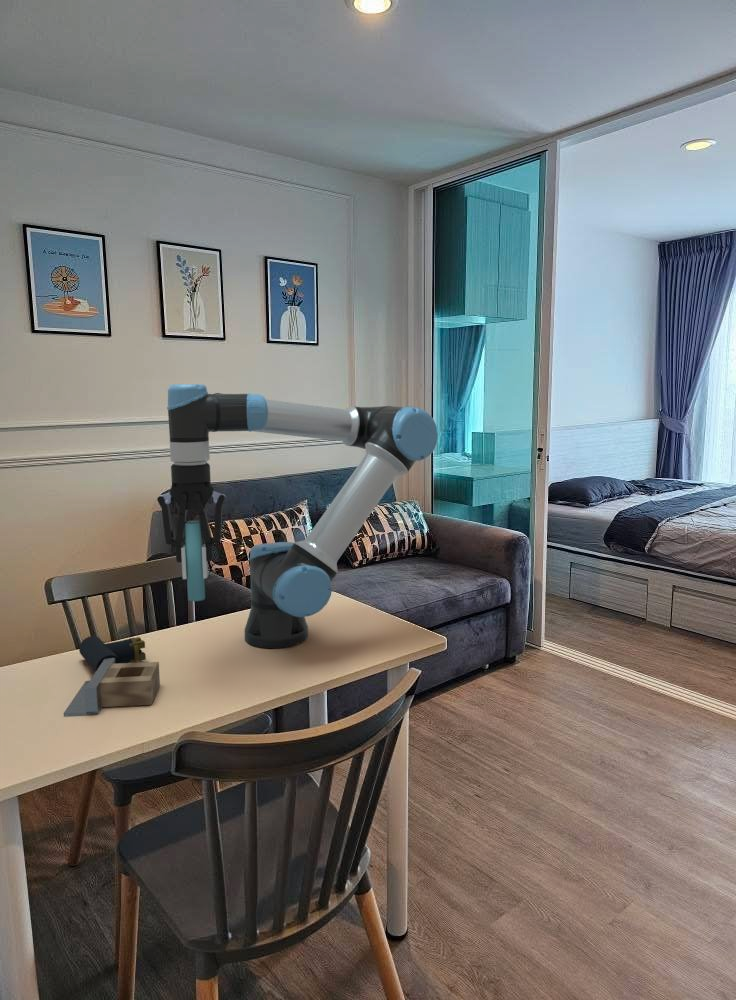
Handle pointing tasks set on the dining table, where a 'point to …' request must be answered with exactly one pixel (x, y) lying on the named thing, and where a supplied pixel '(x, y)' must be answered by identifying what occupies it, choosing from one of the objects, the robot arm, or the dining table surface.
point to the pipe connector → (111, 651)
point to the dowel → (194, 560)
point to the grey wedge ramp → (89, 693)
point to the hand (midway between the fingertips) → (195, 576)
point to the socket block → (130, 684)
